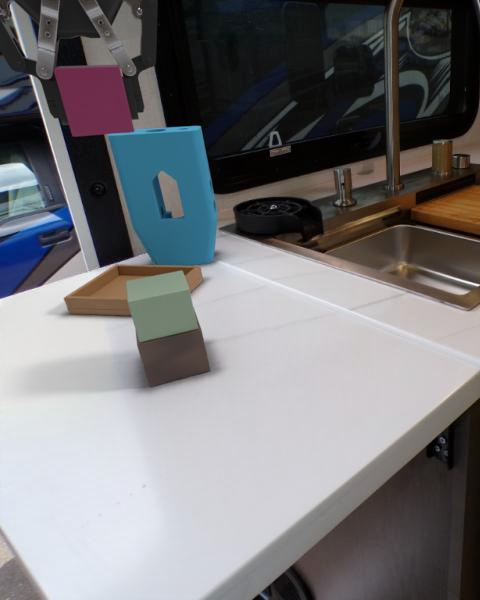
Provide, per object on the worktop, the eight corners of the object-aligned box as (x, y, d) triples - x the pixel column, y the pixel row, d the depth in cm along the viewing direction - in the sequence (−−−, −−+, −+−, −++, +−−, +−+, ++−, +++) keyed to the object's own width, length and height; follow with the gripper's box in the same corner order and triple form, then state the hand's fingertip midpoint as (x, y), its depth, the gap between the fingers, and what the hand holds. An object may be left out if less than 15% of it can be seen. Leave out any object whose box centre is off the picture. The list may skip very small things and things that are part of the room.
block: (142, 270, 80) (105, 136, 71) (149, 258, 85) (115, 130, 76) (223, 261, 83) (197, 130, 74) (225, 250, 87) (201, 125, 78)
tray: (68, 313, 68) (63, 297, 67) (120, 278, 78) (115, 264, 77) (163, 316, 66) (159, 300, 65) (203, 280, 76) (200, 265, 75)
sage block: (139, 343, 51) (127, 301, 49) (136, 319, 55) (125, 280, 53) (198, 329, 53) (189, 289, 51) (191, 307, 57) (182, 269, 55)
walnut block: (149, 387, 53) (136, 345, 50) (145, 359, 58) (134, 319, 55) (210, 370, 55) (201, 329, 53) (202, 344, 60) (193, 306, 58)
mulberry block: (72, 136, 46) (53, 68, 44) (75, 129, 50) (58, 66, 48) (134, 132, 48) (119, 66, 45) (132, 125, 52) (118, 64, 49)
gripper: (140, -89, 47) (179, 111, 54) (-58, -104, 41) (16, 122, 49) (144, -109, 41) (187, 120, 48) (-87, -129, 35) (3, 133, 43)
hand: (101, 120), depth 49 cm, fingers closed on mulberry block, 5 cm apart
